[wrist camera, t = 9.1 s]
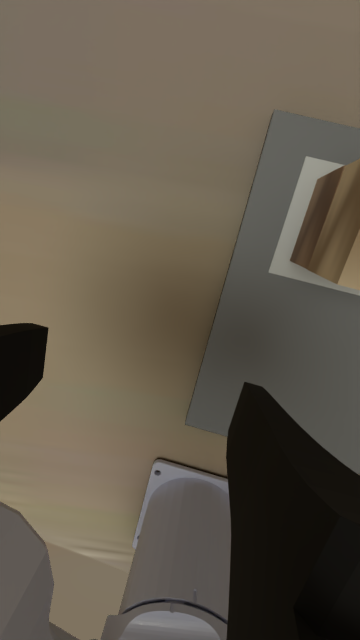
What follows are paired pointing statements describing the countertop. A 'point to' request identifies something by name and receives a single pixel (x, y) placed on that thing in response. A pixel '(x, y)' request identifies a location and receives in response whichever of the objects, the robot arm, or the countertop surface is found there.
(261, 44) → the countertop surface
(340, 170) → the walnut block
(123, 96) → the countertop surface
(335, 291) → the build board
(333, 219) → the beech block
